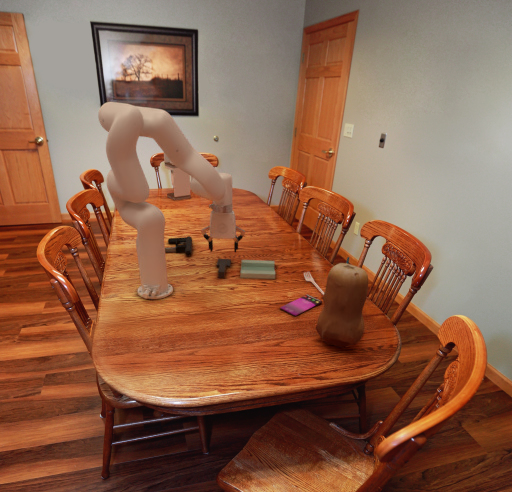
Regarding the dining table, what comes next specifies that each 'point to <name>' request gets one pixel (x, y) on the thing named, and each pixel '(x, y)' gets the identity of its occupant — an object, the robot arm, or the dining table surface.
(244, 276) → the spoon rest
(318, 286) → the fork
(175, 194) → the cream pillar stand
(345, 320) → the butternut squash
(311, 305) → the smartphone
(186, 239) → the submachine gun
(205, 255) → the dining table surface
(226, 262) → the spatula
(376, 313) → the dining table surface
